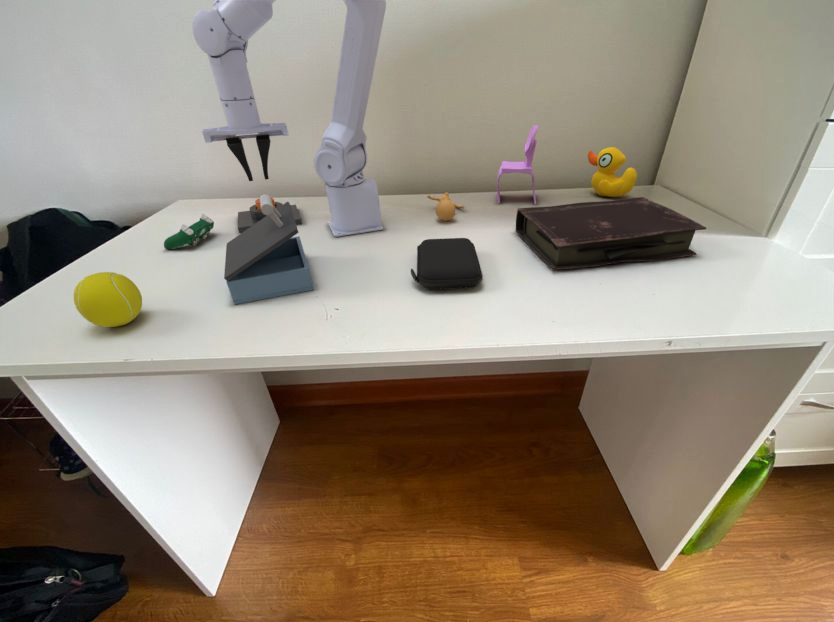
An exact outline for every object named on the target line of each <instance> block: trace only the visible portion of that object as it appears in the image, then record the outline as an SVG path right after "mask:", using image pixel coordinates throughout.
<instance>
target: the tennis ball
mask: <svg viewBox="0 0 834 622" xmlns="http://www.w3.org/2000/svg"><path fill="white" fill-rule="evenodd" d="M73 303H74V305H75V308H76V310H77V311H78V313H79V314H80V315H81V316H82V317H83V319H85V320H86V321H88V322H90V323H91V324H93V325H96V326H99V327H102V328H103V327H104V328H114V327H115V328H116V327H121V326H125V325H127V324H129V323H131V322H132V321H134V320H135V319H136V317H138V315H139V314H140V313H141V311H142V307H143V297H142V293H141V290H140V289H139V287H138V286H137V285H136V284H135V282H134V281H133V280H131V279H130V278H129V277H127V276H125V275H124V274H121V273H117V272H112V271H103V272H102V271H101V272H96V273H92V274H89V275H87V276H85V277H84V278H82V279H81V280H80V281H78V283H77V284H76V286H75V288H74V291H73Z"/></svg>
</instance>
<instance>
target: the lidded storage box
mask: <svg viewBox="0 0 834 622" xmlns="http://www.w3.org/2000/svg"><path fill="white" fill-rule="evenodd" d="M308 263H309V262H308V260H307V257H306V253H305V250H304V247H303V243H302V241H301V237H300V236H298V235H297V236H293V237H291V238H290V239H288V240H287V241H286V242H284V243H283V244H281V245H280V246H278V247H277V248H275V249H274V250H272V251H271V252H269V253H268V254H267V255H265V256H264V257H262V258H261V259H259V260H258V261H256V262H255V263H253V264H252V265H250V266H249V267H247V268H246V269H245V270H243V271H242V272H240V273H239V274H237V275H236V276H234V277H233V278H231V279H230V280H228V281H226V285H227V287H228V291H229V293H230V296H231V299H232V302H233V304H234V305H240V304H245V303H246V304H247V303H250V302H251V303H252V302H256V301H261V300H267V299H273V298H278V297H282V296H284V297H285V296H288V295H294V294H299V293H303V292H304V293H305V292H311V291H314V284H313V280H312V276H311V270H310V266H309V264H308Z"/></svg>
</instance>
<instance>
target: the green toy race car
mask: <svg viewBox="0 0 834 622" xmlns="http://www.w3.org/2000/svg"><path fill="white" fill-rule="evenodd" d="M214 225H215V222H214V221H213V219H212V218H210V216H208V215H206V214H204V213H201V214H200V217H199V220H198V221H196V222H194V223H192V224H191V225H189V226H188V225H186V224H184V223H183V224H181V228H180V229H179V231H178V232H176V233H173V235H170V236H168V237H167V238H166V239H164V241H163V248H164V249H165V250H176V249H179V248H183V247H185V246H187V245H189V246H193V247H194V246H196V245H197V244H198V240H197V239H200V240H206V239H207V238H208V235H207V234H208V233H209V232H211V231H212V230H213V229H214Z"/></svg>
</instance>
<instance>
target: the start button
mask: <svg viewBox="0 0 834 622" xmlns="http://www.w3.org/2000/svg"><path fill="white" fill-rule="evenodd" d="M271 200H272V205H273V206H274V207H276V206H275V202H276V201H275V199H274V197H271ZM254 202H255V204H256V206H257V210H261V205H260V197H259V198H256V199H255V201H254Z"/></svg>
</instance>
